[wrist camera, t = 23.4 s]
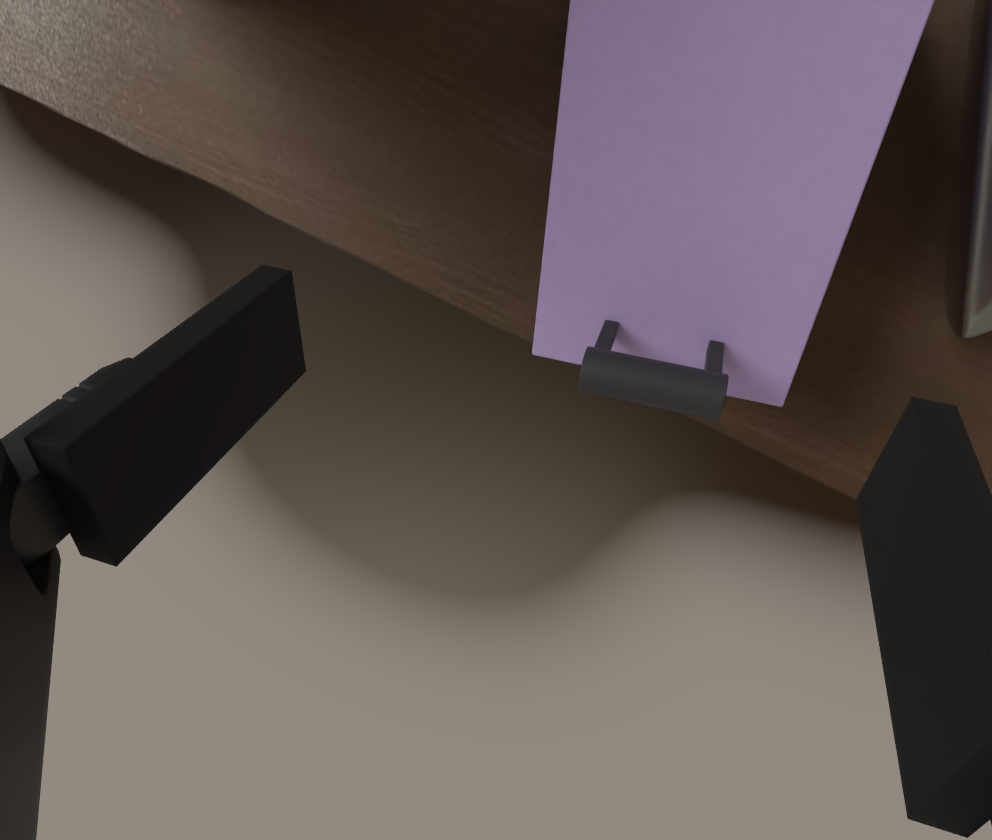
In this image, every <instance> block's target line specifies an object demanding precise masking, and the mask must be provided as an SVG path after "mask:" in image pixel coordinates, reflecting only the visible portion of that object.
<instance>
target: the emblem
mask: <svg viewBox="0 0 992 840" xmlns="http://www.w3.org/2000/svg"><path fill="white" fill-rule="evenodd" d="M946 314H947V318H948V321H949V324H950V327H951V328H952V330H953V332H954V333H955V334H956V336H958V337H959V338H961V339H970V338H974V337H977V336H980V335H983V334H986V333H989V332H991V331H992V0H975V2H974V9H973V18H972V27H971V37H970V47H969V57H968V68H967V78H966V88H965V99H964V109H963V119H962V129H961V140H960V150H959V160H958V171H957V181H956V191H955V201H954V212H953V222H952V232H951V243H950V253H949V263H948V274H947V285H946Z"/></svg>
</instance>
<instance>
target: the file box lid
mask: <svg viewBox="0 0 992 840" xmlns="http://www.w3.org/2000/svg"><path fill="white" fill-rule="evenodd" d="M934 1H935V0H570V7H569V16H568V25H567V34H566V44H565V53H564V62H563V72H562V81H561V90H560V99H559V109H558V118H557V127H556V136H555V146H554V155H553V164H552V174H551V183H550V192H549V201H548V211H547V220H546V229H545V239H544V248H543V257H542V266H541V276H540V285H539V294H538V303H537V313H536V322H535V331H534V341H533V350H532V354H533V355H537V356H541V357H546V358H551V359H555V360H560V361H565V362H570V363H574V364H579V365H581V368H580V374H579V379H578V390H579V391H582V392H587V393H591V394H596V395H600V396H605V397H609V398H614V399H618V400H623V401H627V402H632V403H637V404H641V405H646V406H650V407H655V408H659V409H664V410H669V411H673V412H678V413H682V414H687V415H691V416H696V417H701V418H705V419H710V420H714V421H717V420H718V419H719V417H720V414H721V411H722V408H723V405H724V401H725V397H726V396H731V397H736V398H741V399H745V400H750V401H755V402H760V403H764V404H769V405H774V406H779V407H782V406H783V404H784V402H785V399H786V396H787V394H788V391H789V388H790V386H791V383H792V380H793V378H794V375H795V372H796V370H797V367H798V364H799V362H800V359H801V356H802V354H803V351H804V348H805V346H806V343H807V340H808V338H809V335H810V332H811V330H812V327H813V324H814V322H815V319H816V316H817V314H818V311H819V308H820V306H821V303H822V300H823V298H824V295H825V292H826V290H827V287H828V284H829V281H830V279H831V276H832V273H833V271H834V268H835V265H836V263H837V260H838V257H839V255H840V252H841V249H842V247H843V244H844V241H845V239H846V236H847V233H848V231H849V228H850V225H851V223H852V220H853V217H854V215H855V212H856V209H857V207H858V204H859V201H860V199H861V196H862V193H863V191H864V188H865V185H866V183H867V180H868V177H869V175H870V172H871V169H872V167H873V164H874V161H875V159H876V156H877V153H878V151H879V148H880V145H881V142H882V140H883V137H884V134H885V132H886V129H887V126H888V124H889V121H890V118H891V116H892V113H893V110H894V108H895V105H896V102H897V100H898V97H899V94H900V92H901V89H902V86H903V84H904V81H905V78H906V76H907V73H908V70H909V68H910V65H911V62H912V60H913V57H914V54H915V52H916V49H917V46H918V44H919V41H920V38H921V36H922V33H923V30H924V28H925V25H926V22H927V20H928V17H929V14H930V12H931V9H932V6H933V4H934Z"/></svg>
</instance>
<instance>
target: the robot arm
mask: <svg viewBox="0 0 992 840" xmlns="http://www.w3.org/2000/svg"><path fill="white" fill-rule="evenodd" d="M305 372H306V368H305V361H304V354H303V347H302V340H301V333H300V326H299V319H298V313H297V306H296V298H295V291H294V285H293V277H292V271H290V270H285V269H280V268H275V267H270V266H265V265H261V266H260V267H258V268H257V269H255V270H254V271H253V272H251V273H250V274H249V275H247V276H246V277H244V278H243V279H242V280H240V281H239V282H238V283H236V284H235V285H233V286H232V287H231V288H229V289H228V290H227V291H225V292H224V293H222V294H221V295H220V296H218V297H217V298H215V299H214V300H213V301H211V302H210V303H209V304H207V305H206V306H205V307H203V308H202V309H200V310H199V311H198V312H196V313H195V314H194V315H192V316H191V317H189V318H188V319H187V320H185V321H184V322H182V323H181V324H180V325H178V326H177V327H176V328H174V329H173V330H172V331H170V332H169V333H167V334H166V335H165V336H163V337H162V338H160V339H159V340H158V341H156V342H155V343H154V344H152V345H151V346H149V347H148V348H147V349H145V350H144V351H143V352H141V353H140V354H138V355H137V356H136V357H134V358H133V359H132V358H126V359H123V360H121V361H118V362H116V363H113V364H111V365H108V366H106V367H103V368H101V369H100V370H98V371H97V372H95V373H94V374H92V375H91V376H90V377H88V378H87V379H85V380H84V381H82V382H81V383H80V385H79V387H74V388H73V389H71V390H70V391H68V392H67V393H65V394H64V395H63V396H62V399H61V400H60V399H57V400H56V401H54V402H53V403H51V404H50V405H48V406H47V407H46V408H44V409H43V410H41V411H40V412H39V413H37V414H36V415H34V416H33V417H31V418H30V419H29V420H27V421H26V422H24V423H23V424H22V425H20V426H19V427H17V428H16V429H15V430H13V431H12V432H10V433H9V434H7V435H6V436H5V437H3V438H2V439H0V840H36V834H37V823H38V811H39V800H40V789H41V777H42V765H43V754H44V743H45V732H46V720H47V710H48V698H49V687H50V686H49V685H50V676H51V664H52V653H53V642H54V631H55V619H56V608H57V596H58V585H59V574H60V563H61V560H60V555H59V551H58V549H57V547H56V545H57V544H58V543H59V542H60V541H61V540H62V539H63V538H64V537H65V536H66V535H68V534H69V533H70V534H71V536H72V538H73V540H74V542H75V544H76V546H77V548H78V550H79V552H80V554H81V555H82V556H85V557H88V558H91V559H94V560H98V561H101V562H104V563H107V564H110V565H113V566H118V565H119V563H120V562H121V561H122V560H123V559H124V558H125V557H126V556H127V555H128V554H129V553H130V552H131V551H132V550H133V549H134V548H135V547H136V546H137V545H138V544H139V543H140V542H141V541H142V540H143V539H144V538H145V537H146V536H147V535H148V534H149V533H150V532H151V531H152V529H153V528H154V527H155V526H156V525H157V524H158V523H159V522H160V521H161V520H162V519H163V518H164V517H165V516H166V515H167V514H168V513H169V512H170V511H171V510H172V509H173V508H174V507H175V506H176V505H177V504H178V503H179V502H180V501H181V500H182V499H183V497H184V496H185V495H186V494H187V493H188V492H189V491H190V490H191V489H192V488H193V487H194V486H195V485H196V484H197V483H198V482H199V481H200V480H201V479H202V478H203V477H204V476H205V475H206V474H207V473H208V472H209V471H210V469H212V468H213V467H214V466H215V464H216V463H217V462H218V461H219V460H220V459H221V458H222V457H223V456H224V455H225V454H226V453H227V452H228V451H229V450H230V449H231V448H232V447H233V446H234V445H235V444H236V443H237V442H238V441H239V440H240V439H241V438H242V437H243V436H244V434H245V433H246V432H247V431H248V430H249V429H250V428H251V427H252V426H253V425H254V424H255V423H256V422H257V421H258V420H259V419H260V418H261V417H262V416H263V415H264V414H265V413H266V412H267V411H268V410H269V409H270V408H271V407H272V406H273V405H274V403H275V402H277V400H278V399H279V398H280V397H281V396H282V395H283V394H284V393H285V392H286V391H287V390H288V389H289V388H290V387H291V386H292V385H293V384H294V383H295V382H296V381H297V380H298V379H299V378H300V377H301V376H302V375H303V374H304V373H305ZM856 505H857V511H858V517H859V524H860V530H861V536H862V542H863V548H864V554H865V560H866V566H867V572H868V579H869V584H870V591H871V597H872V603H873V609H874V615H875V621H876V628H877V634H878V640H879V646H880V652H881V658H882V664H883V670H884V677H885V683H886V689H887V695H888V701H889V707H890V713H891V719H892V726H893V732H894V738H895V744H896V750H897V756H898V762H899V768H900V775H901V780H902V787H903V793H904V799H905V805H906V811H907V817H908V819H910V820H913V821H917V822H920V823H923V824H926V825H929V826H933V827H935V828H938V829H942V830H945V831H948V832H951V833H954V834H957V835H960V836H964V837H967V838H968V837H969V836H970V835H972V834H973V833H974V832H975V831H977V830H978V829H979V828H980V827H981V826H983V825H984V824H985V823H986V822H988V821H989V820H991V824H992V495H991V493H990V490H989V488H988V485H987V483H986V480H985V478H984V475H983V473H982V470H981V468H980V465H979V462H978V460H977V457H976V455H975V452H974V450H973V447H972V445H971V442H970V440H969V437H968V435H967V432H966V430H965V427H964V424H963V422H962V419H961V417H960V414H959V412H958V409H957V407H956V406H955V405H950V404H945V403H940V402H935V401H930V400H925V399H920V398H915V397H912V398H911V400H910V401H909V403H908V405H907V407H906V409H905V411H904V412H903V414H902V416H901V418H900V420H899V422H898V423H897V425H896V427H895V429H894V431H893V433H892V434H891V436H890V438H889V440H888V442H887V444H886V445H885V447H884V449H883V451H882V453H881V455H880V456H879V458H878V460H877V462H876V464H875V466H874V468H873V469H872V471H871V473H870V475H869V477H868V479H867V480H866V482H865V484H864V486H863V488H862V490H861V491H860V493H859V495H858V497H857V499H856Z"/></svg>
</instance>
